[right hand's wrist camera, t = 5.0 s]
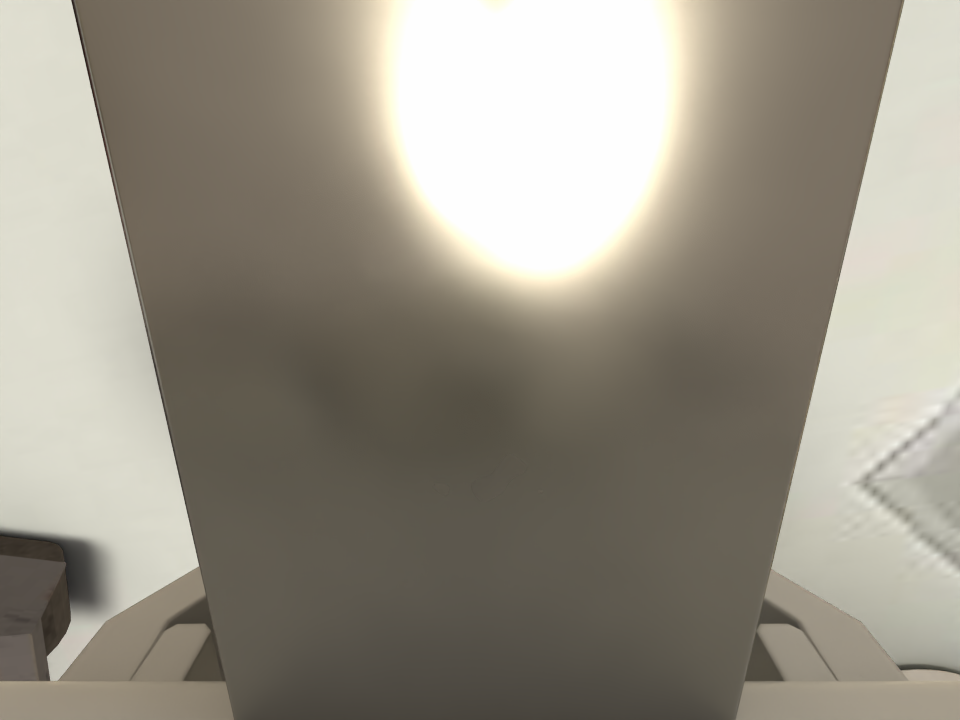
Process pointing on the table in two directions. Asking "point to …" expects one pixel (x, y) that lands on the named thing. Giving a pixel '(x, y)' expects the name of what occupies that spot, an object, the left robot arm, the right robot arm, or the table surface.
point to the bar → (486, 330)
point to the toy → (31, 607)
